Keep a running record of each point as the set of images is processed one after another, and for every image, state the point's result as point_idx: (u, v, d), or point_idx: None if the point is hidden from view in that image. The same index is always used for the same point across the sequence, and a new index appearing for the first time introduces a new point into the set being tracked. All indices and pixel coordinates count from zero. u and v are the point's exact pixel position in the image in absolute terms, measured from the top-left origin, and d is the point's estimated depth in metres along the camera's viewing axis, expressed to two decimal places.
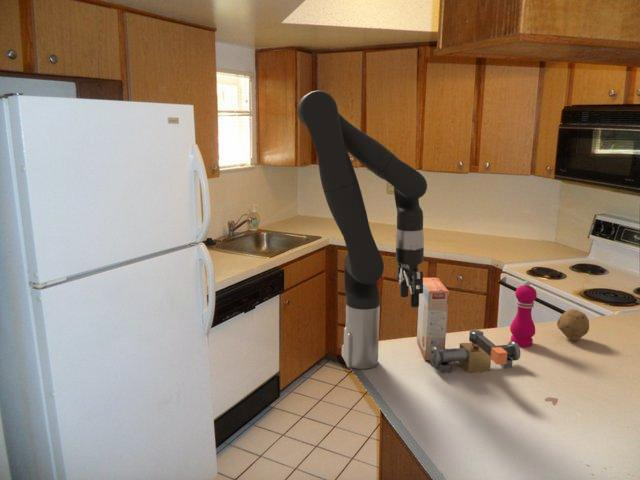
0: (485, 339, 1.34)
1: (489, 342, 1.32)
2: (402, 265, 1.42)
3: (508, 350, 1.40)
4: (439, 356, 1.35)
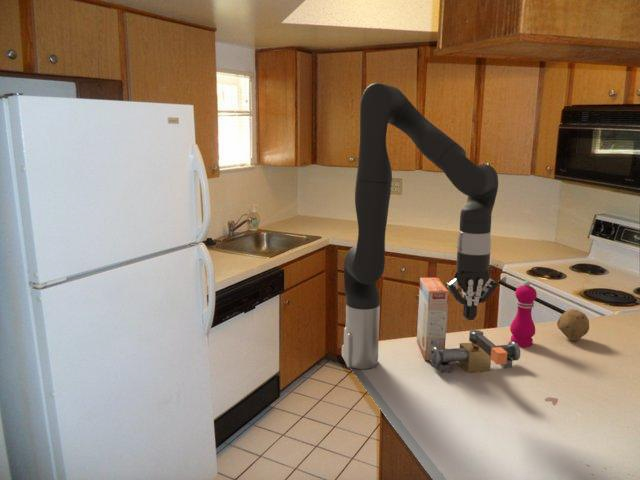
0: (485, 339, 1.34)
1: (489, 342, 1.32)
2: (462, 277, 1.20)
3: (508, 350, 1.40)
4: (439, 356, 1.35)
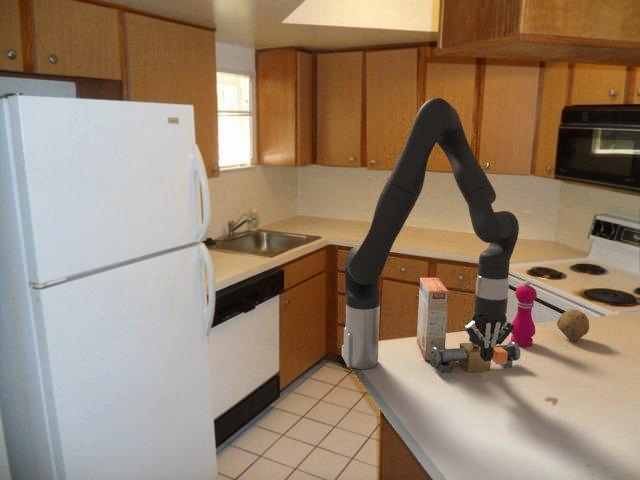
0: None
1: None
2: (480, 320, 1.23)
3: (508, 350, 1.40)
4: (439, 356, 1.35)
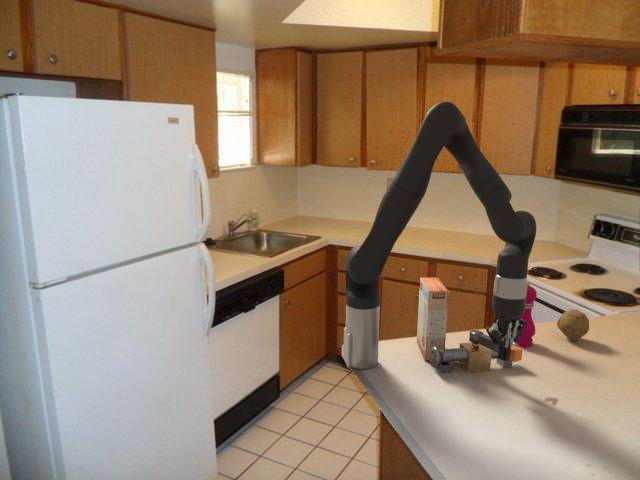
0: (490, 338, 1.34)
1: None
2: (503, 320, 1.22)
3: None
4: (439, 356, 1.35)
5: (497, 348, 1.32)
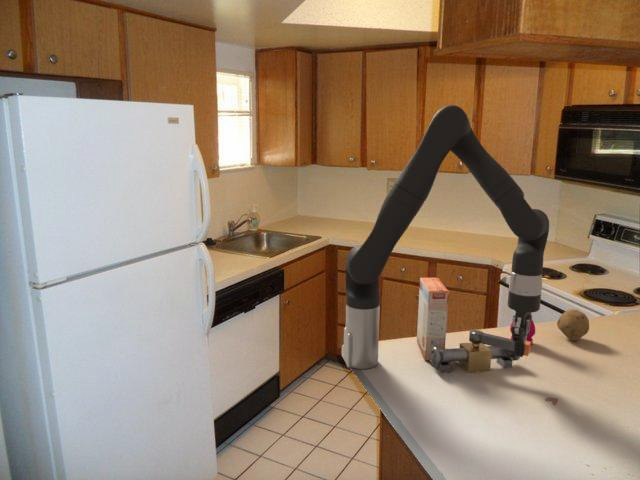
0: (494, 336, 1.36)
1: (502, 338, 1.35)
2: (525, 318, 1.24)
3: (508, 350, 1.40)
4: (439, 356, 1.35)
5: (505, 345, 1.34)
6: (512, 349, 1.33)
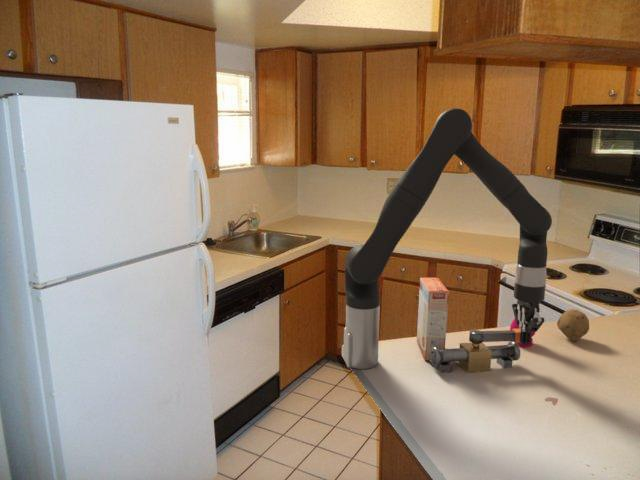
0: (494, 332, 1.39)
1: (500, 331, 1.39)
2: None
3: (508, 350, 1.40)
4: (439, 356, 1.35)
5: (506, 337, 1.39)
6: (512, 339, 1.39)
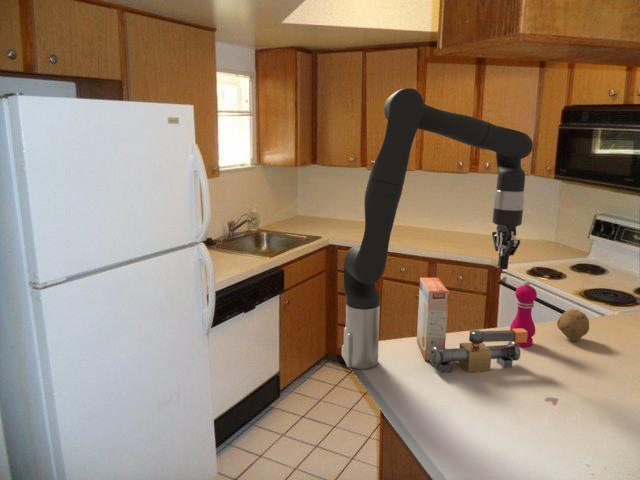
0: (494, 332, 1.39)
1: (500, 331, 1.39)
2: None
3: (508, 350, 1.40)
4: (439, 356, 1.35)
5: (506, 337, 1.39)
6: (512, 339, 1.39)
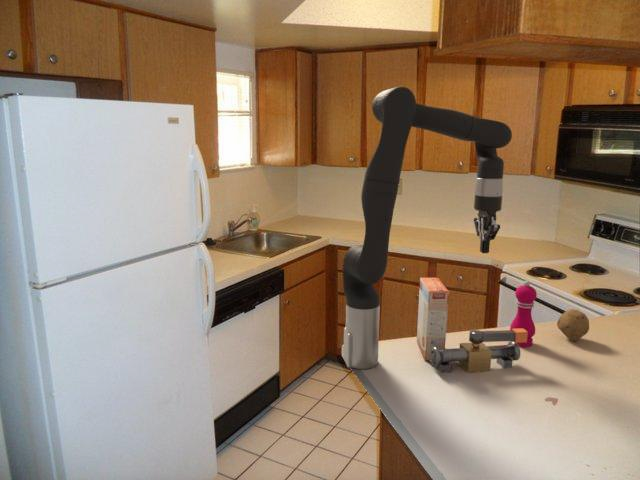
0: (494, 332, 1.39)
1: (500, 331, 1.39)
2: None
3: (508, 350, 1.40)
4: (439, 356, 1.35)
5: (506, 337, 1.39)
6: (512, 339, 1.39)
